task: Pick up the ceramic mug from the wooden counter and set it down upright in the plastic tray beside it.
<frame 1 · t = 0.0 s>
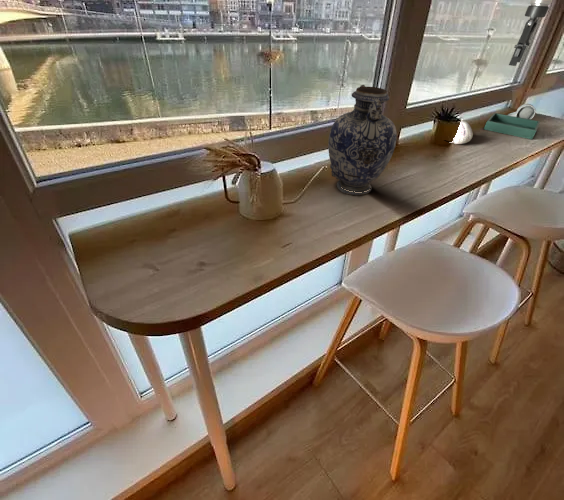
hand: (514, 63, 147), 25 cm above the table, tool pointing down, fingers open, 13 cm apart
ceramic mug: (518, 120, 165), on the table
sea urchin shell: (453, 140, 138), on the table
tray: (510, 129, 151), on the table
decorative vase: (352, 188, 101), on the table
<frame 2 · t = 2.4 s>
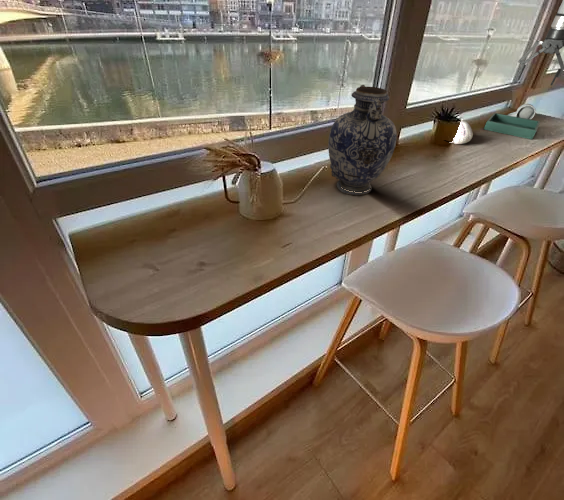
hand: (534, 82, 154), 17 cm above the table, tool pointing down, fingers open, 13 cm apart
nothing on the table moved.
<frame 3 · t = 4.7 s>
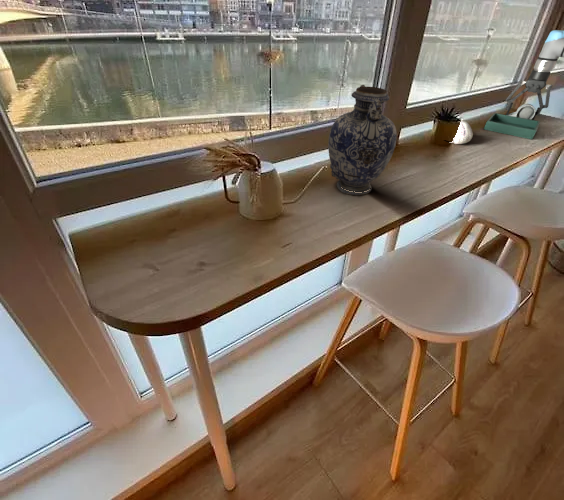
hand: (518, 119, 164), 0 cm above the table, tool pointing down, fingers closed on ceramic mug, 11 cm apart
ceramic mug: (518, 120, 165), on the table, touching gripper
everything else where it was.
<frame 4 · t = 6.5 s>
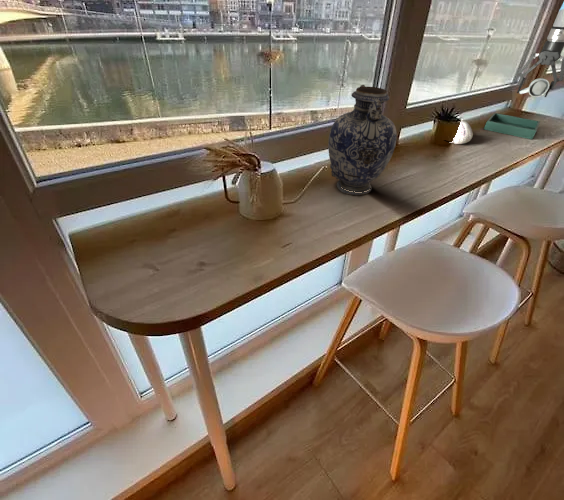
hand: (531, 94, 157), 12 cm above the table, tool pointing down, fingers closed on ceramic mug, 11 cm apart
ceramic mug: (531, 95, 157), point 11 cm above the table, touching gripper
everything else where it was.
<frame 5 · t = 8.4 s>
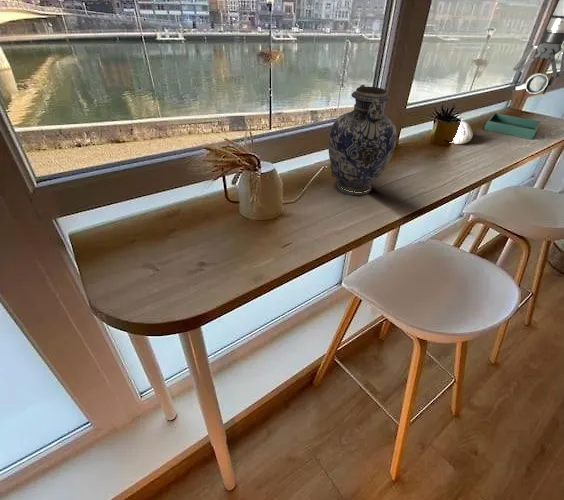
hand: (528, 91, 144), 16 cm above the table, tool pointing down, fingers closed on ceramic mug, 11 cm apart
ceramic mug: (528, 92, 144), point 16 cm above the table, touching gripper
everything else where it was.
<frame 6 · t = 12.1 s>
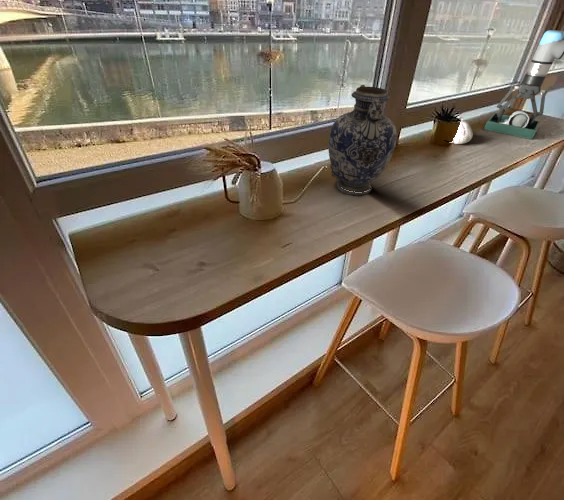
hand: (511, 127, 151), 1 cm above the table, tool pointing down, fingers closed on ceramic mug, 11 cm apart
ceramic mug: (510, 128, 151), point 1 cm above the table, touching gripper, tray
everything else where it was.
when the fingers open (1 cm above the table, at t = 12.6 s): ceramic mug stays where it is, resting on tray.
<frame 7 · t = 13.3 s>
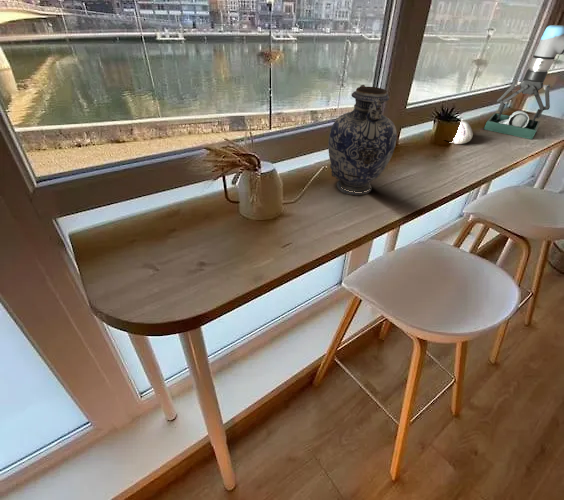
hand: (514, 122, 149), 3 cm above the table, tool pointing down, fingers open, 13 cm apart
ceramic mug: (510, 128, 151), point 1 cm above the table, touching tray
everything else where it was.
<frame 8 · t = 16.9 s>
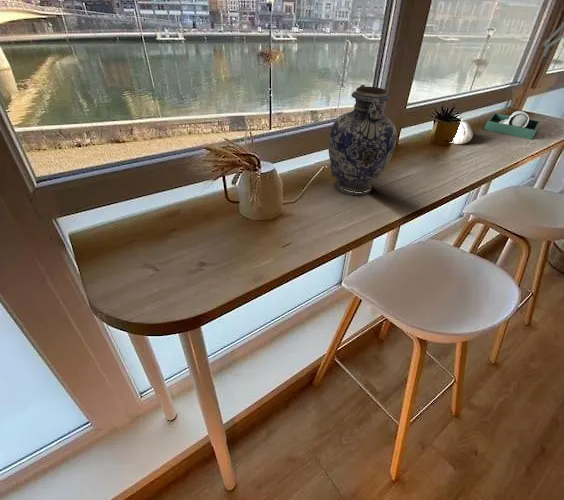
hand: (560, 67, 144), 25 cm above the table, tool pointing down, fingers open, 13 cm apart
nothing on the table moved.
at the end: ceramic mug inside the target area in the tray (0.1 cm from its centre), point 0.6 cm above the tray's base; ceramic mug tilted 0°; the gripper is holding nothing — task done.
